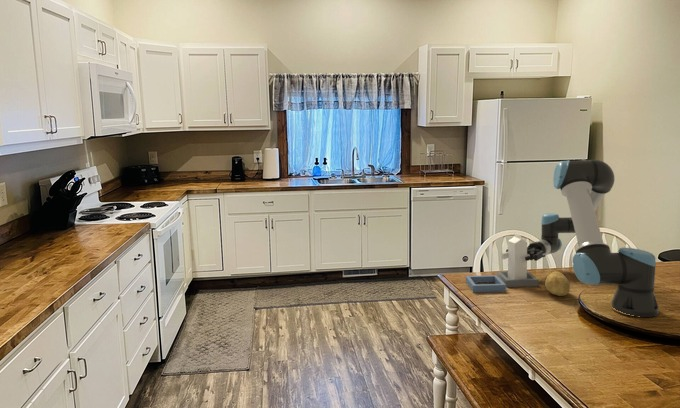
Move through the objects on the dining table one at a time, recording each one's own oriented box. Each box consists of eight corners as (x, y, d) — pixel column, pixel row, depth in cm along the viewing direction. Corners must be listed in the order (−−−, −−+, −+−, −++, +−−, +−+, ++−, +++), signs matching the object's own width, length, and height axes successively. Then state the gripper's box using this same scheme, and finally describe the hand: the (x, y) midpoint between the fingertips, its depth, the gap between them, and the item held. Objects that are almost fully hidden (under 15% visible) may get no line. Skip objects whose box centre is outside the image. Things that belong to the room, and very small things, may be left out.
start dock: (538, 286, 211) (538, 279, 210) (506, 287, 211) (506, 280, 211) (527, 276, 224) (527, 270, 224) (497, 277, 225) (497, 271, 225)
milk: (519, 279, 221) (520, 232, 218) (526, 283, 215) (527, 235, 212) (507, 280, 220) (508, 233, 217) (514, 284, 214) (515, 236, 211)
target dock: (505, 291, 205) (505, 284, 205) (473, 292, 206) (472, 285, 206) (496, 281, 219) (496, 275, 219) (465, 282, 220) (465, 276, 219)
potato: (540, 297, 197) (540, 275, 196) (549, 287, 208) (550, 266, 207) (566, 301, 191) (567, 278, 189) (574, 291, 202) (575, 269, 201)
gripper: (559, 260, 219) (532, 270, 206) (518, 253, 236) (491, 262, 222) (560, 244, 218) (533, 253, 204) (519, 238, 235) (491, 246, 221)
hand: (511, 258), depth 213 cm, fingers closed on milk, 8 cm apart
